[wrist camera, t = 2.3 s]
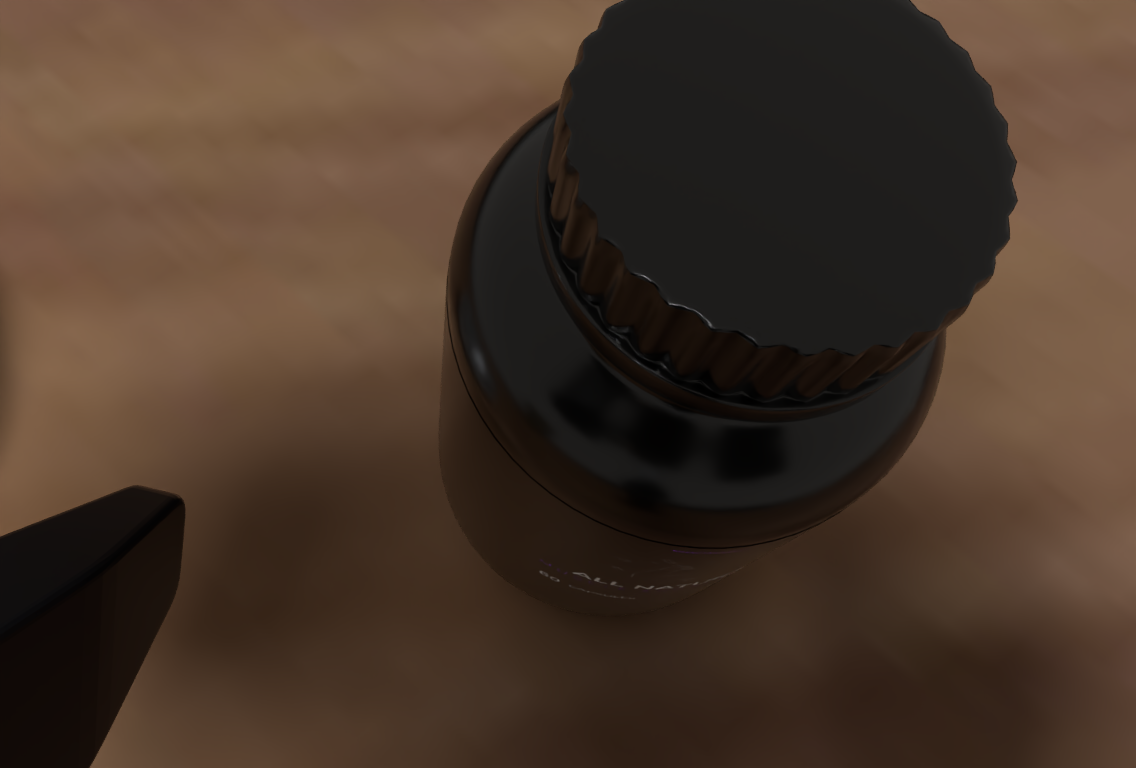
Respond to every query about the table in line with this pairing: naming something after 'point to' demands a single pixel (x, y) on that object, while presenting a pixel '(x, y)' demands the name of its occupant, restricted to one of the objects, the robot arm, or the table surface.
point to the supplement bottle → (712, 290)
